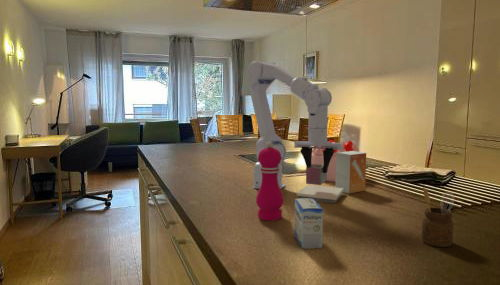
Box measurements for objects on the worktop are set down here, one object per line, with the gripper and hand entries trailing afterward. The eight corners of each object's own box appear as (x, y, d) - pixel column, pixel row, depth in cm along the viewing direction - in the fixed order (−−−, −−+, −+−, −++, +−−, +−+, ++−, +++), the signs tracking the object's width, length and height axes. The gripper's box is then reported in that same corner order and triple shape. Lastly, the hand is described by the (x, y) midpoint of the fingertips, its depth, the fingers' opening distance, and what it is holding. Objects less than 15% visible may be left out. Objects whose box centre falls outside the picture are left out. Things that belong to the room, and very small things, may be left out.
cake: (339, 184, 130) (340, 146, 128) (299, 176, 146) (299, 141, 144) (370, 177, 142) (371, 141, 141) (330, 170, 158) (330, 138, 156)
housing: (306, 183, 109) (306, 165, 109) (312, 179, 115) (312, 161, 115) (320, 185, 107) (320, 166, 107) (326, 180, 113) (326, 162, 113)
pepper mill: (286, 214, 97) (286, 140, 95) (279, 222, 90) (279, 143, 88) (260, 211, 99) (260, 139, 97) (252, 219, 93) (251, 142, 90)
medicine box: (294, 235, 82) (294, 198, 81) (313, 234, 82) (313, 197, 81) (301, 249, 74) (302, 208, 73) (323, 248, 74) (323, 207, 73)
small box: (349, 194, 117) (350, 154, 115) (334, 190, 122) (335, 152, 121) (365, 190, 121) (366, 152, 120) (351, 187, 127) (351, 150, 125)
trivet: (296, 199, 111) (296, 193, 111) (307, 190, 122) (308, 184, 122) (335, 203, 106) (335, 197, 106) (343, 194, 117) (343, 188, 117)
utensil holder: (459, 247, 74) (462, 190, 73) (429, 248, 74) (432, 191, 72) (441, 236, 80) (444, 183, 79) (414, 237, 80) (417, 184, 78)
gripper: (290, 128, 110) (290, 172, 111) (338, 129, 103) (337, 176, 105) (298, 126, 116) (298, 168, 118) (343, 128, 109) (342, 171, 111)
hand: (317, 171), depth 112 cm, fingers closed on housing, 4 cm apart
